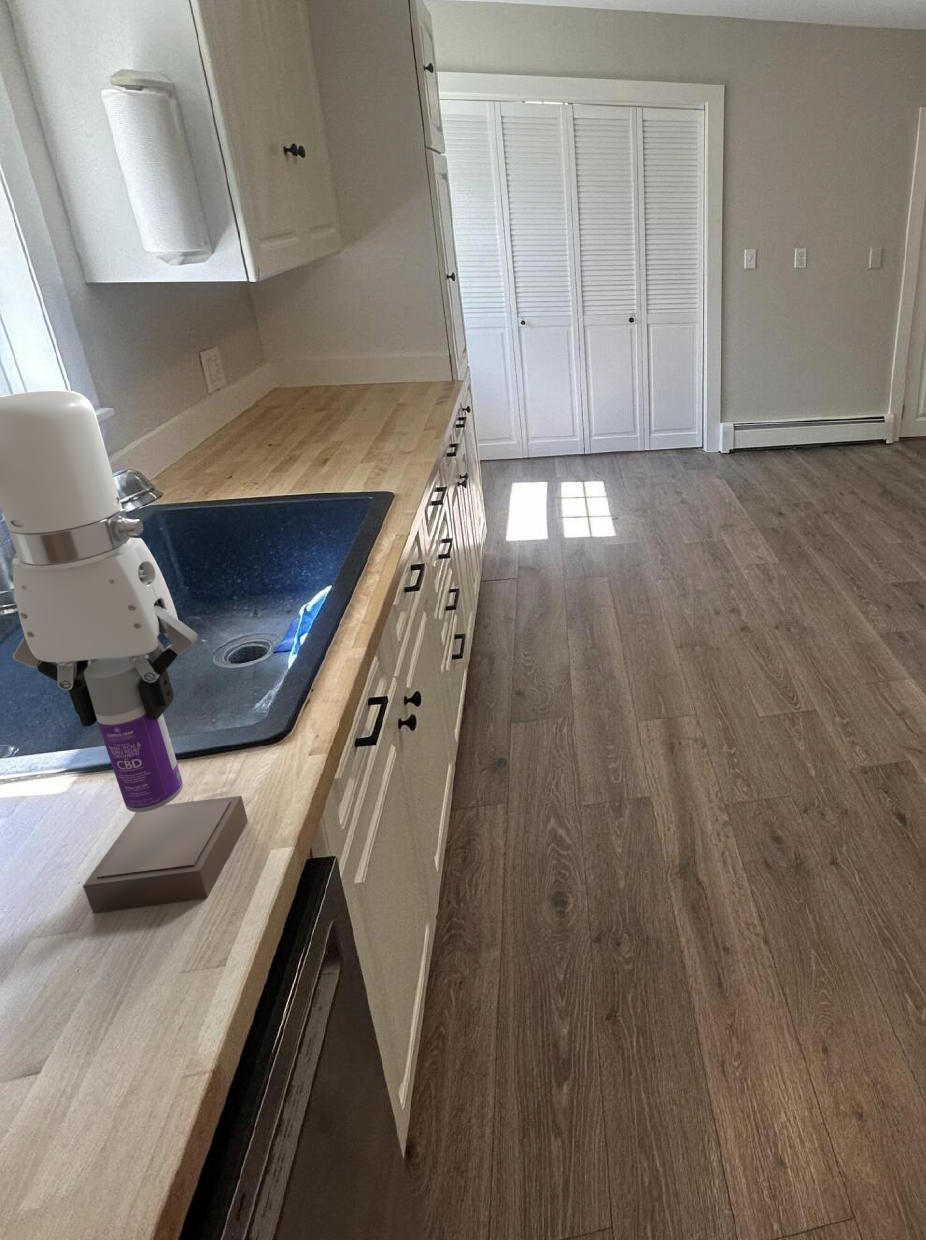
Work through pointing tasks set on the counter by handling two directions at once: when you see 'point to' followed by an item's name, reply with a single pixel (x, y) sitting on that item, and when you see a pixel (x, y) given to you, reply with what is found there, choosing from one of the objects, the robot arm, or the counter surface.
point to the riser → (167, 855)
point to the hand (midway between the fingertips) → (128, 712)
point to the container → (132, 736)
